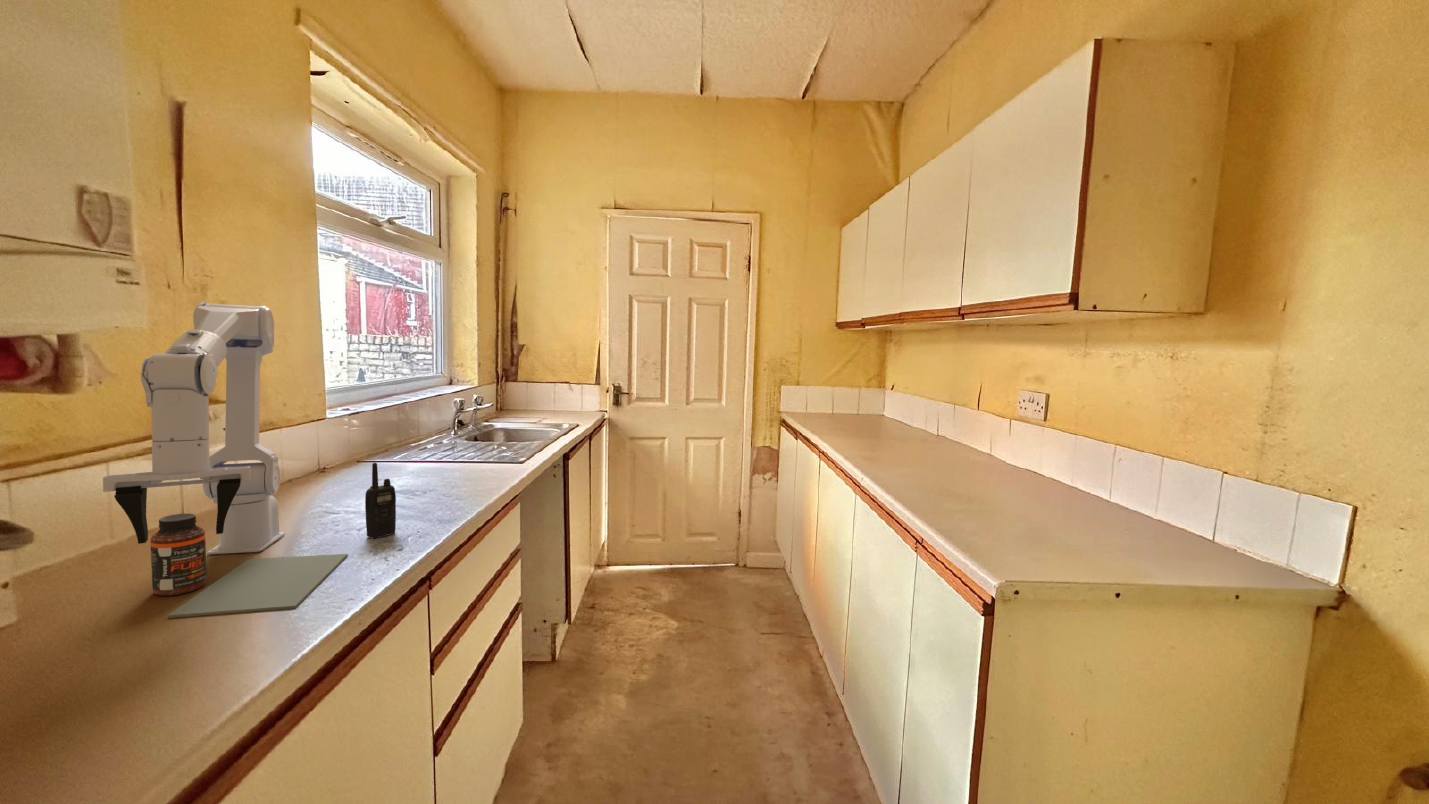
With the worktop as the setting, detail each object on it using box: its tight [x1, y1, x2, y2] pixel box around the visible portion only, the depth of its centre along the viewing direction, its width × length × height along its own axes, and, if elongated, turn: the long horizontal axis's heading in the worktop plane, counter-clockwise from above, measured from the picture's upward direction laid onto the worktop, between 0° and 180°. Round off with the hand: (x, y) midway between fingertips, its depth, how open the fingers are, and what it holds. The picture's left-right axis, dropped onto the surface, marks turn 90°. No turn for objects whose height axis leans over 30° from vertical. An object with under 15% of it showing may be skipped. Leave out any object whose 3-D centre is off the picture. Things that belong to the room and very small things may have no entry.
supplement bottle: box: [149, 513, 208, 597], centre depth 83 cm, size 6×6×11 cm
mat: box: [167, 553, 349, 619], centre depth 86 cm, size 20×15×1 cm
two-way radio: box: [364, 462, 397, 539], centre depth 108 cm, size 6×4×15 cm
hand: (182, 537), depth 76 cm, fingers open, 7 cm apart
